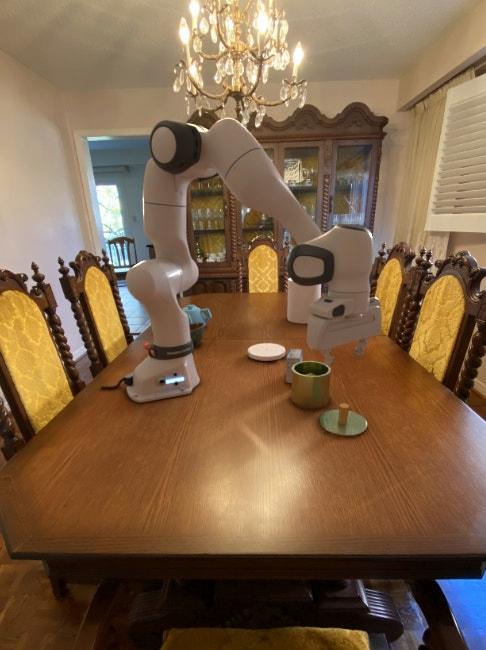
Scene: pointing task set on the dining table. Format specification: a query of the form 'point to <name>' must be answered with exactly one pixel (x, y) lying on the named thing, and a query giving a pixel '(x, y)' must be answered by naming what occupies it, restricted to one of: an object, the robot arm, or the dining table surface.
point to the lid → (343, 422)
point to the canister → (301, 301)
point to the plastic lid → (266, 351)
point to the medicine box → (292, 362)
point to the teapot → (197, 314)
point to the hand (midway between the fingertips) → (344, 359)
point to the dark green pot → (196, 333)
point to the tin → (310, 384)
